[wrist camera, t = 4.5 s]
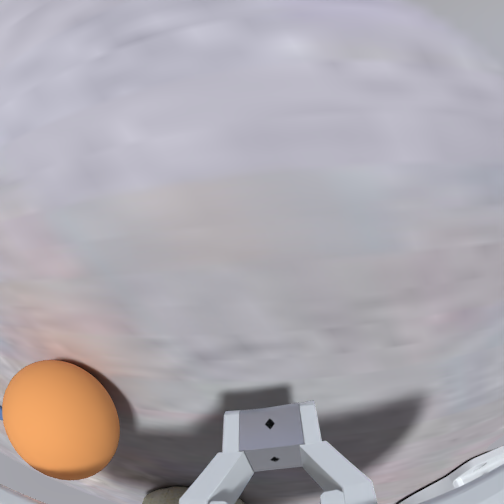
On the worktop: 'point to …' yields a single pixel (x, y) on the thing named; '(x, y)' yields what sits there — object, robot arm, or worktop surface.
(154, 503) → the sea urchin shell
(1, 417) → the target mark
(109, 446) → the ball
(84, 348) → the worktop surface
